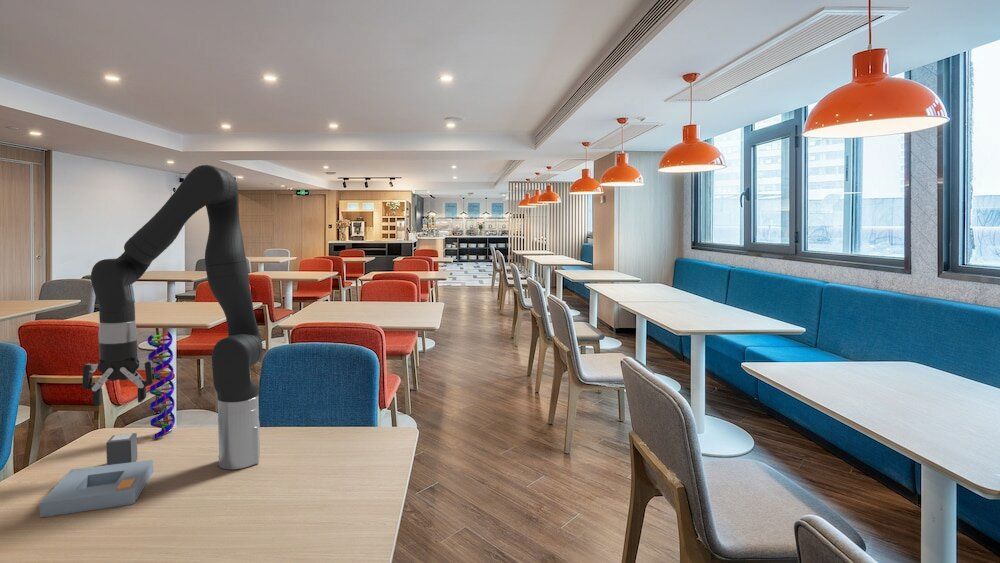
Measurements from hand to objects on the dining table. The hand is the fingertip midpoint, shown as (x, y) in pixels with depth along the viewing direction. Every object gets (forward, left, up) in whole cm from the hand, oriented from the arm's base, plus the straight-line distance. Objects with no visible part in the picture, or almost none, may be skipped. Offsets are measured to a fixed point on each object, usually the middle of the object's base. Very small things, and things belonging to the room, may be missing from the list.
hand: (120, 403), depth 126 cm
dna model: (-5, -18, -16) cm, 25 cm away
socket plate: (0, +15, -16) cm, 22 cm away
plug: (0, 0, -16) cm, 16 cm away
